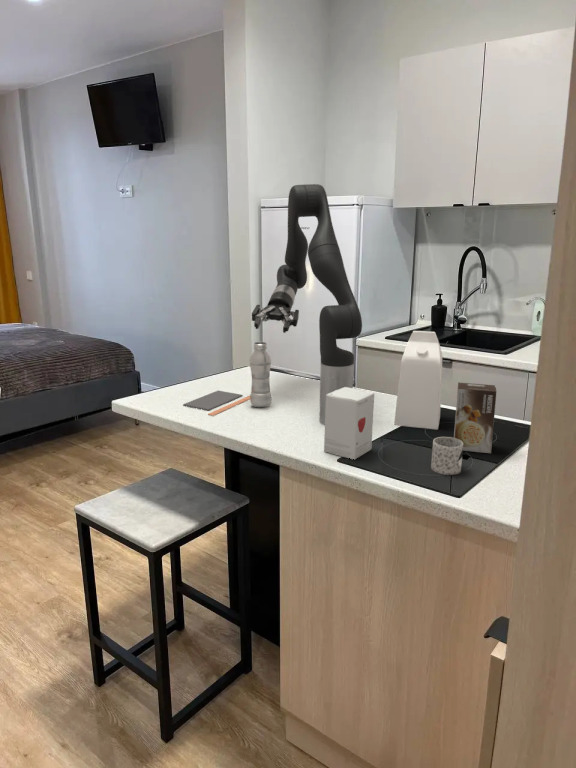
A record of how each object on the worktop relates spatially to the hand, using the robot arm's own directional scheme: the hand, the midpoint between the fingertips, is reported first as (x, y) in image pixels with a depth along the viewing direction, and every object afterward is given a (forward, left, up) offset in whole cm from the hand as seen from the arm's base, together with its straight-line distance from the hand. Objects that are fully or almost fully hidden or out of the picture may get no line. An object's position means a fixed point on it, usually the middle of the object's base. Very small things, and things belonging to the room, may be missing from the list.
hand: (270, 328), depth 168 cm
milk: (-44, -9, -24) cm, 51 cm away
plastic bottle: (+2, +3, -24) cm, 25 cm away
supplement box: (-36, +22, -24) cm, 49 cm away
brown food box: (-62, +4, -24) cm, 67 cm away
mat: (+18, +6, -24) cm, 30 cm away
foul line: (+10, +6, -24) cm, 27 cm away
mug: (-59, +19, -24) cm, 67 cm away
